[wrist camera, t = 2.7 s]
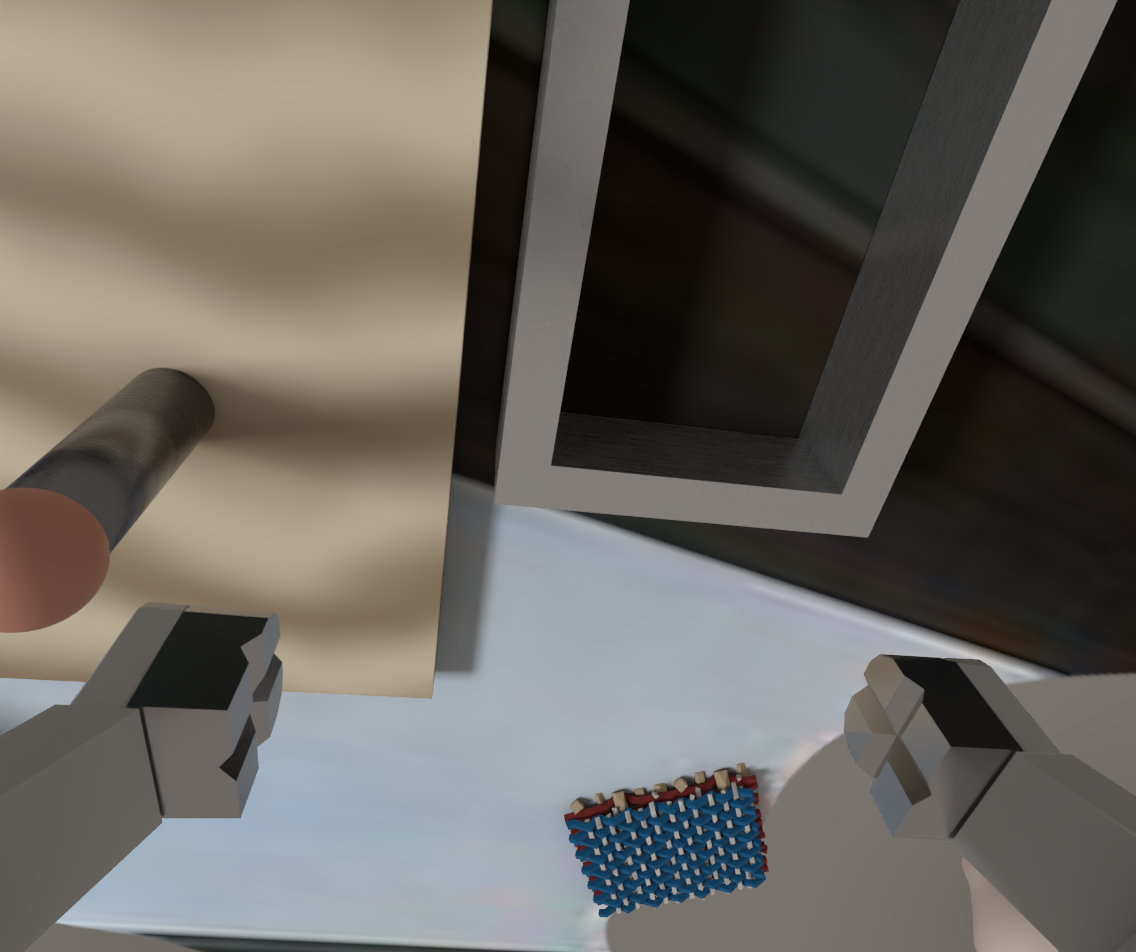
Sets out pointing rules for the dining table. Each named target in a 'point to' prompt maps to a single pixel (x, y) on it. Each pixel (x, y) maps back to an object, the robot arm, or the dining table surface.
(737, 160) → the dining table surface
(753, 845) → the woven mat
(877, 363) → the steel link
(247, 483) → the board
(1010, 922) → the light bulb
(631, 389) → the dining table surface
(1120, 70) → the dining table surface
